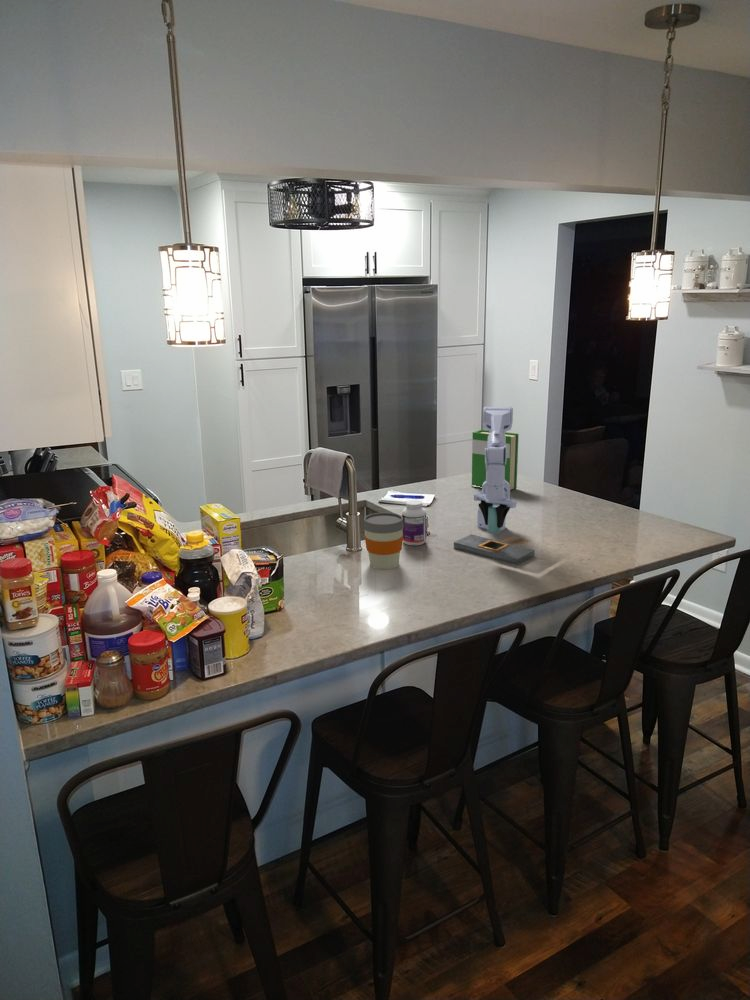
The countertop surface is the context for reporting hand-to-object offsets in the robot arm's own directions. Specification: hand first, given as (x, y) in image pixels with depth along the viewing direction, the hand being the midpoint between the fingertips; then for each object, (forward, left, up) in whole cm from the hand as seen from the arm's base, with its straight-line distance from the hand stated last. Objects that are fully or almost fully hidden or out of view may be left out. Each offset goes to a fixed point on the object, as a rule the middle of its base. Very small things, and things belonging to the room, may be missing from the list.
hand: (494, 525), depth 226 cm
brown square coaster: (0, +13, -10) cm, 16 cm away
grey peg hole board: (0, 0, -10) cm, 10 cm away
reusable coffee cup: (-22, -28, -10) cm, 37 cm away
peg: (0, 0, -2) cm, 2 cm away
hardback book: (-44, +68, -10) cm, 82 cm away
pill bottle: (-27, -7, -10) cm, 30 cm away
